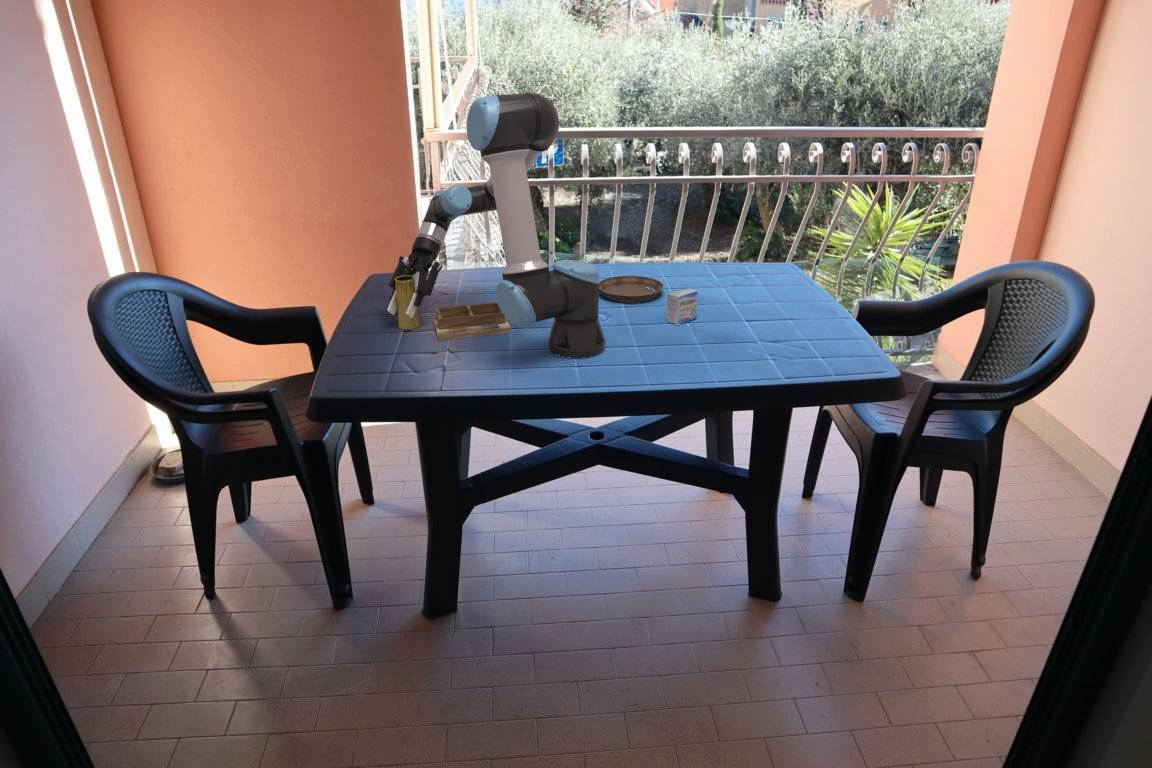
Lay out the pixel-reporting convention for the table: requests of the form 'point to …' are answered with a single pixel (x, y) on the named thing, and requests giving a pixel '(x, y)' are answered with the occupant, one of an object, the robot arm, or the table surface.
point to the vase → (406, 302)
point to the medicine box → (682, 306)
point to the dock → (470, 321)
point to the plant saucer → (630, 288)
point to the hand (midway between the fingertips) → (399, 314)
